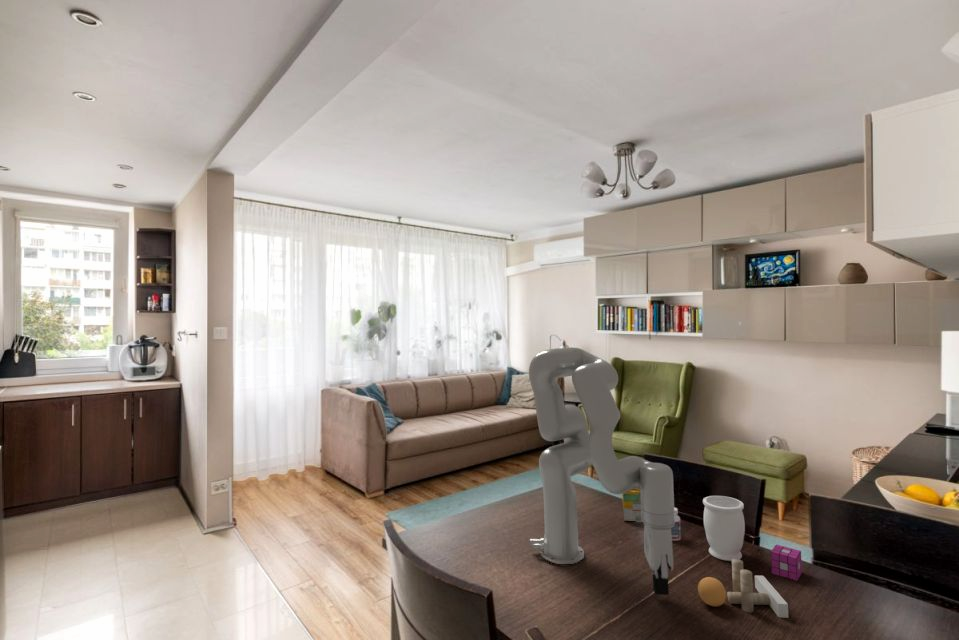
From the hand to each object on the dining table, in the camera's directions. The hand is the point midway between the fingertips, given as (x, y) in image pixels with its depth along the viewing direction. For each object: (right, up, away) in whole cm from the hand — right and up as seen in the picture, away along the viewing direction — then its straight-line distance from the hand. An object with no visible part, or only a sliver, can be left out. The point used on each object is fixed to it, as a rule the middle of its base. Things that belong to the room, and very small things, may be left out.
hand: (660, 592), depth 113 cm
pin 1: (+19, -1, 0) cm, 19 cm away
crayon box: (+9, -2, +45) cm, 46 cm away
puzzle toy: (+37, -1, +10) cm, 38 cm away
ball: (+11, +2, -3) cm, 11 cm away
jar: (+26, -1, +20) cm, 33 cm away
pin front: (+15, 0, -2) cm, 15 cm away
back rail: (+25, -1, -3) cm, 25 cm away
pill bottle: (+16, -2, +32) cm, 36 cm away
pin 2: (+18, -1, -5) cm, 19 cm away
